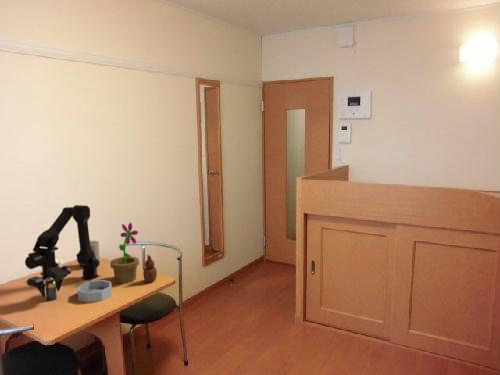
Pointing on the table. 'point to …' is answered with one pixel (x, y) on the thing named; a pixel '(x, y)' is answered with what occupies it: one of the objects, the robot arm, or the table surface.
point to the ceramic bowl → (94, 291)
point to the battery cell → (50, 290)
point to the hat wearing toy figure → (58, 263)
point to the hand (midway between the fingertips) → (51, 293)
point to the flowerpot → (125, 259)
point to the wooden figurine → (149, 270)
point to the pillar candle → (95, 248)
